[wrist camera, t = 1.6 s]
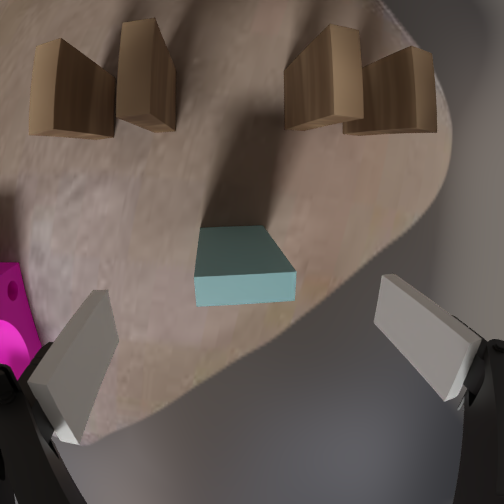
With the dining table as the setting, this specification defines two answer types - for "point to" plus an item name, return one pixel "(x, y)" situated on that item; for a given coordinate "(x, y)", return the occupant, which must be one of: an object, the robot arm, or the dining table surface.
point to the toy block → (15, 321)
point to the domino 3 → (241, 267)
